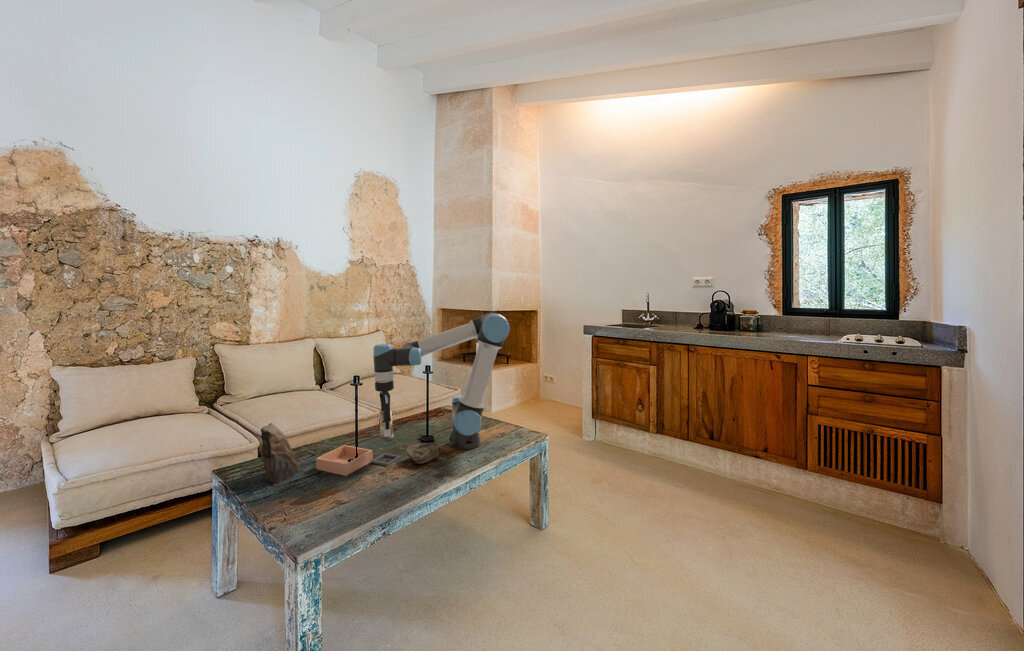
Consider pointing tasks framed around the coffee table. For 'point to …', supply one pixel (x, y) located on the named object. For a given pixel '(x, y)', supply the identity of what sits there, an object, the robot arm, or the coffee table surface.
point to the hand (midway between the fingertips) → (386, 434)
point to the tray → (344, 460)
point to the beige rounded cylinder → (382, 438)
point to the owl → (277, 455)
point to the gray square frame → (385, 462)
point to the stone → (423, 452)
